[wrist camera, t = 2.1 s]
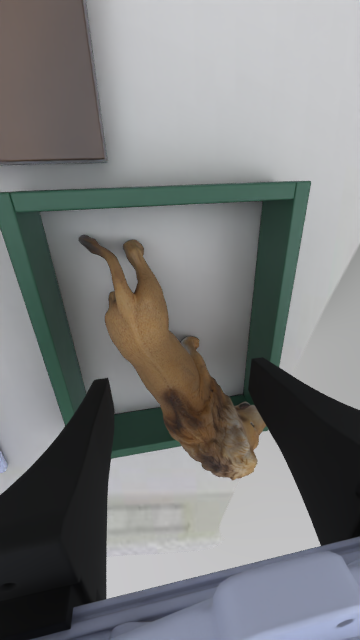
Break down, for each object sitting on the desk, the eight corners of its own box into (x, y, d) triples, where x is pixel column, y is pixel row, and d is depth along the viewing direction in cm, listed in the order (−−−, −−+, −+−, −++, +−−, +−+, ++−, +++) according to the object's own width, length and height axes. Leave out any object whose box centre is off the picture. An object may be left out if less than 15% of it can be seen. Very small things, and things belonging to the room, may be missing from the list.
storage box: (84, 426, 22) (77, 465, 19) (18, 191, 14) (-13, 193, 11) (250, 399, 24) (268, 430, 21) (276, 181, 16) (312, 180, 13)
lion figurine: (237, 362, 22) (299, 462, 14) (185, 397, 23) (217, 511, 15) (114, 207, 15) (101, 231, 7) (46, 264, 16) (-34, 343, 8)
